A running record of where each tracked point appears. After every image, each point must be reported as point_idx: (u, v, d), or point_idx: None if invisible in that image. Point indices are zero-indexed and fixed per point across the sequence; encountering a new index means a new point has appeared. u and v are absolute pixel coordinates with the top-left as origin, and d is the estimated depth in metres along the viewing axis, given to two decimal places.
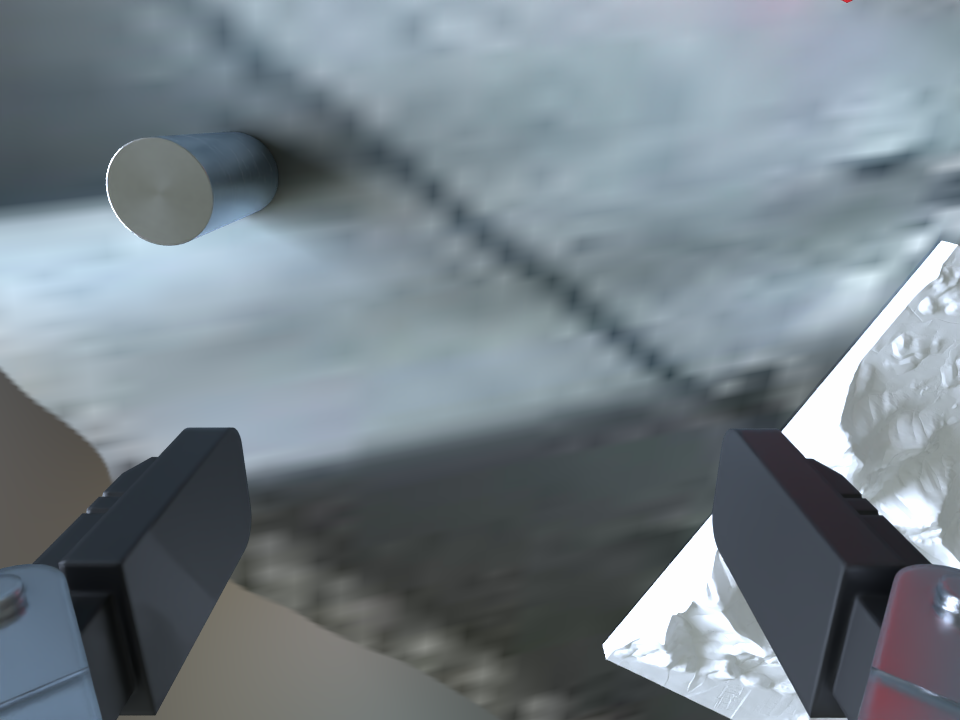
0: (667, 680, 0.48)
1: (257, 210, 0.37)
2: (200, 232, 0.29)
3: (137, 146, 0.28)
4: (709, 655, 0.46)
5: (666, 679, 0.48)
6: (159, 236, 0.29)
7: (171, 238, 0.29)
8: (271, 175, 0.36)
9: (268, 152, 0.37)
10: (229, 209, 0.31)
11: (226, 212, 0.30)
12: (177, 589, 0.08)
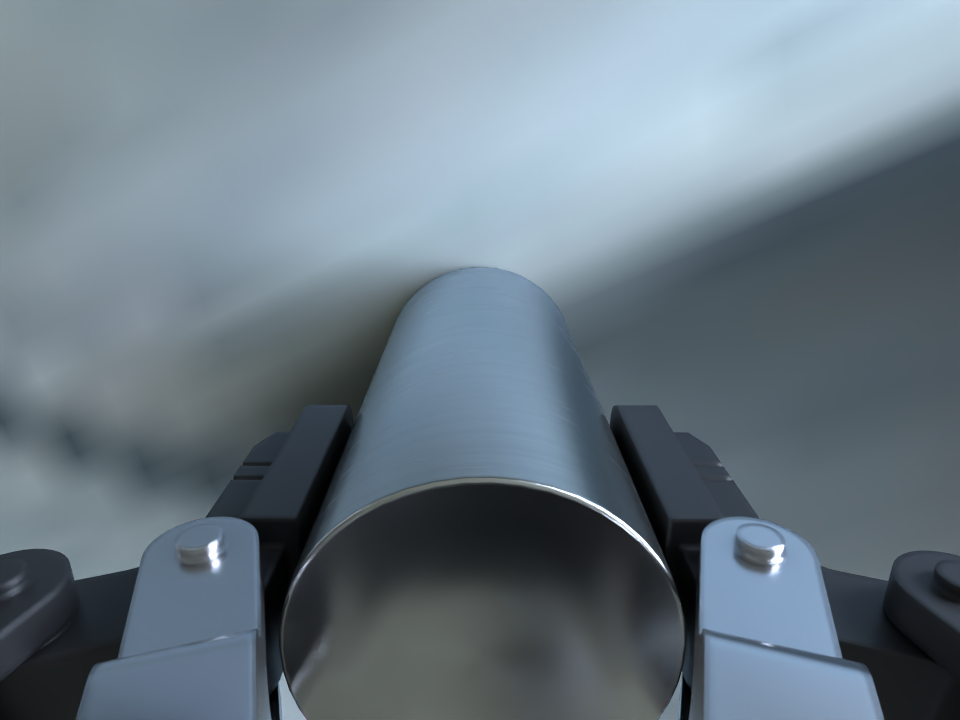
0: None
1: (400, 319, 0.15)
2: (299, 569, 0.07)
3: None
4: None
5: None
6: (455, 514, 0.07)
7: (405, 520, 0.07)
8: None
9: None
10: None
11: None
12: None
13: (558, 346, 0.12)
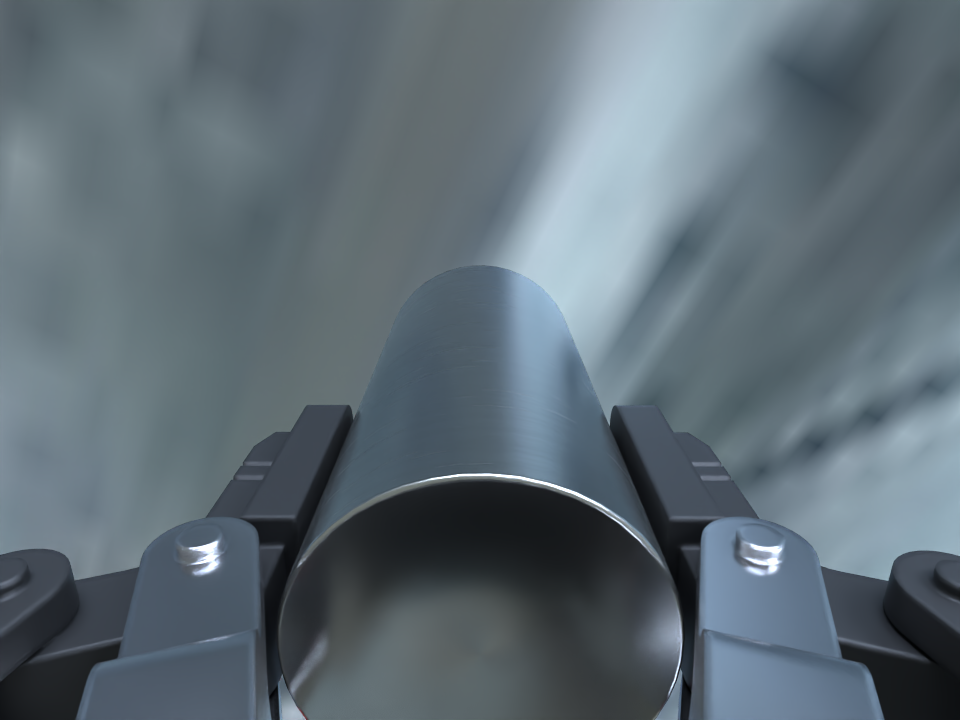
0: None
1: (399, 317, 0.15)
2: (297, 566, 0.07)
3: None
4: None
5: None
6: (452, 510, 0.07)
7: (402, 516, 0.07)
8: None
9: None
10: None
11: None
12: None
13: (557, 344, 0.12)
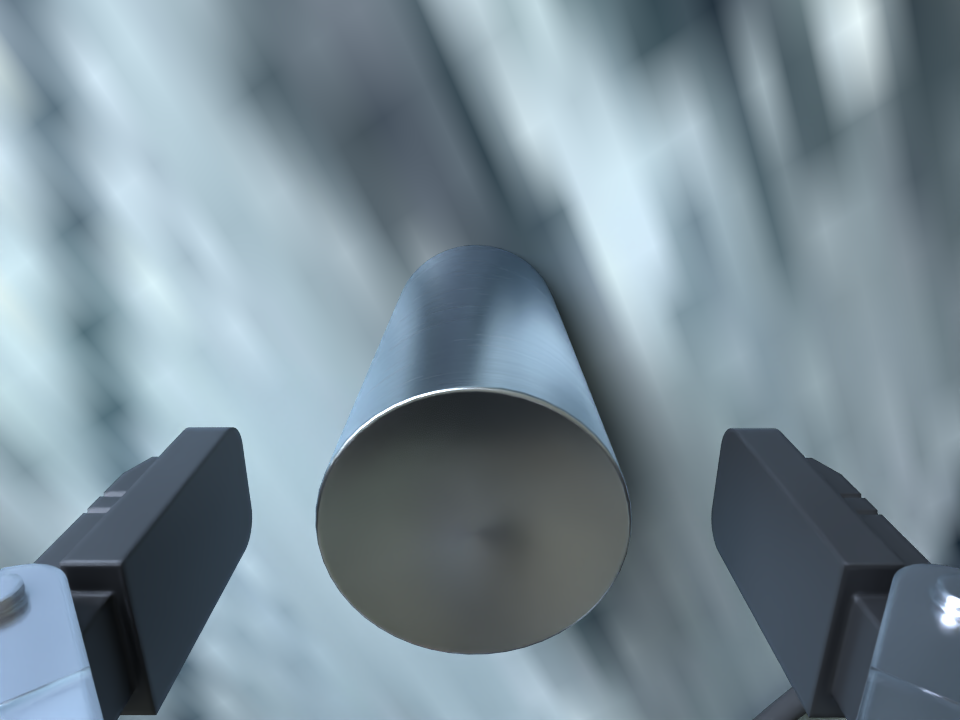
0: None
1: (404, 290, 0.17)
2: (332, 462, 0.09)
3: (552, 621, 0.10)
4: None
5: None
6: (451, 415, 0.09)
7: (413, 420, 0.09)
8: None
9: None
10: None
11: None
12: (178, 589, 0.08)
13: (540, 307, 0.14)
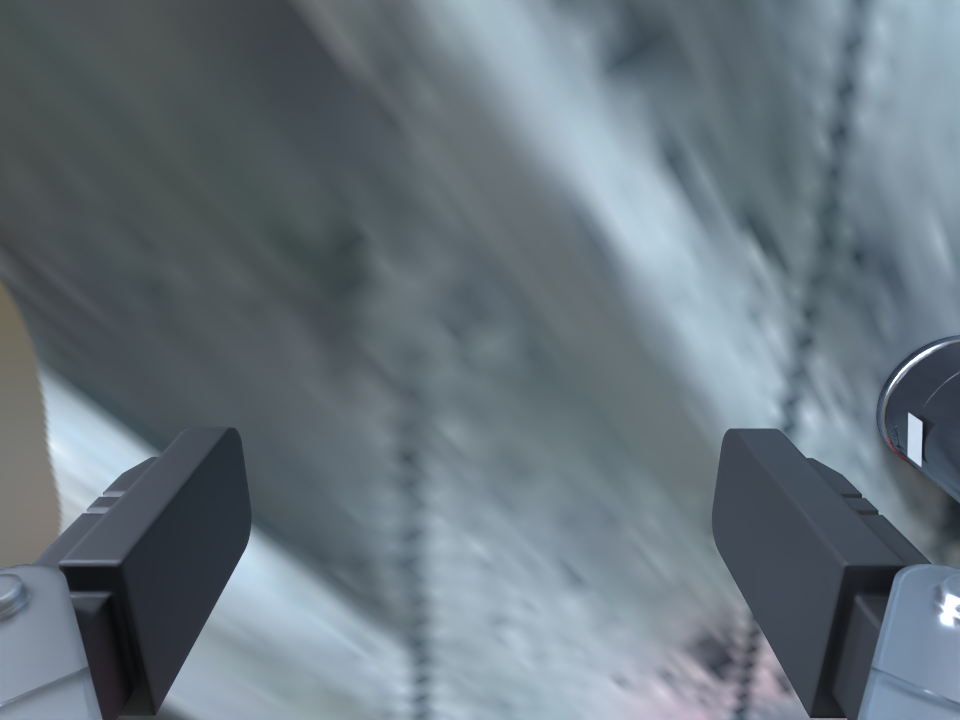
0: None
1: None
2: None
3: None
4: None
5: None
6: None
7: None
8: None
9: None
10: None
11: None
12: (177, 589, 0.08)
13: None
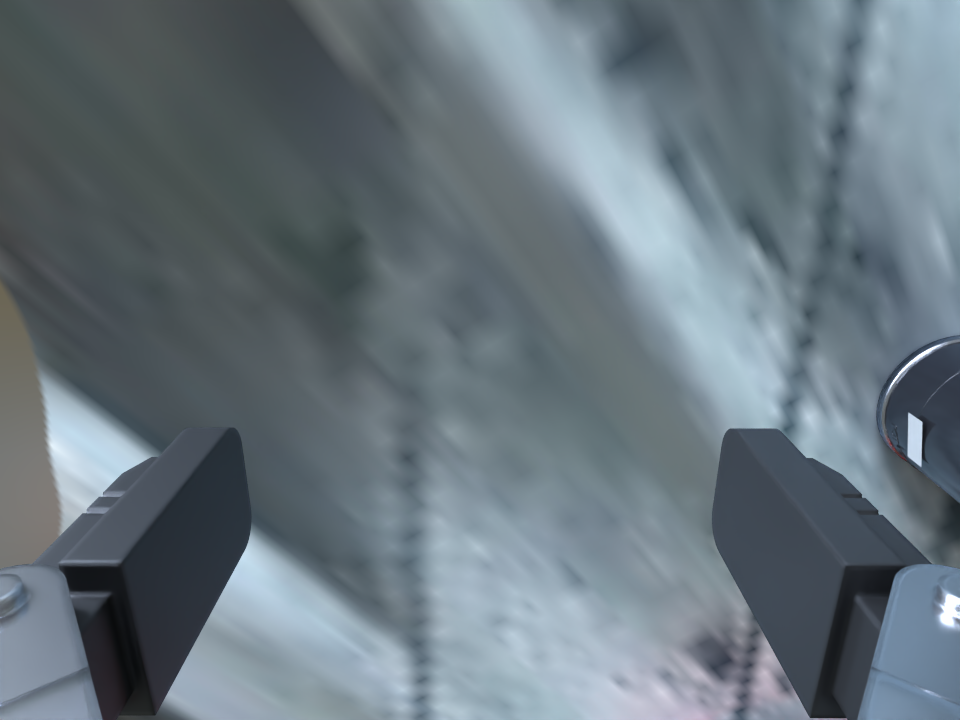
0: None
1: None
2: None
3: None
4: None
5: None
6: None
7: None
8: None
9: None
10: None
11: None
12: (177, 589, 0.08)
13: None
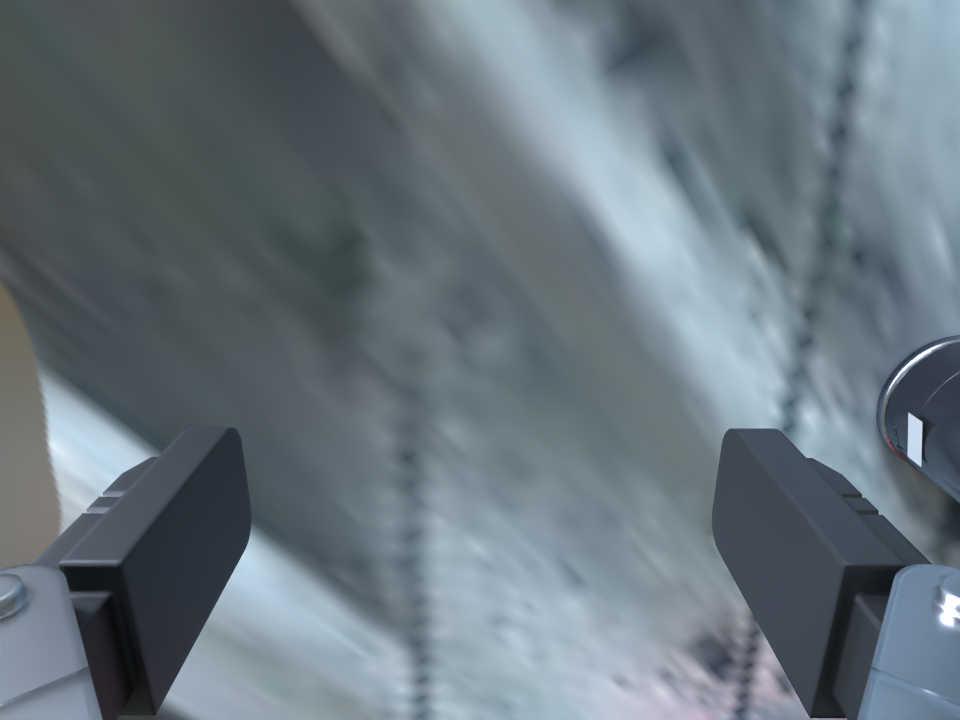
0: None
1: None
2: None
3: None
4: None
5: None
6: None
7: None
8: None
9: None
10: None
11: None
12: (177, 589, 0.08)
13: None
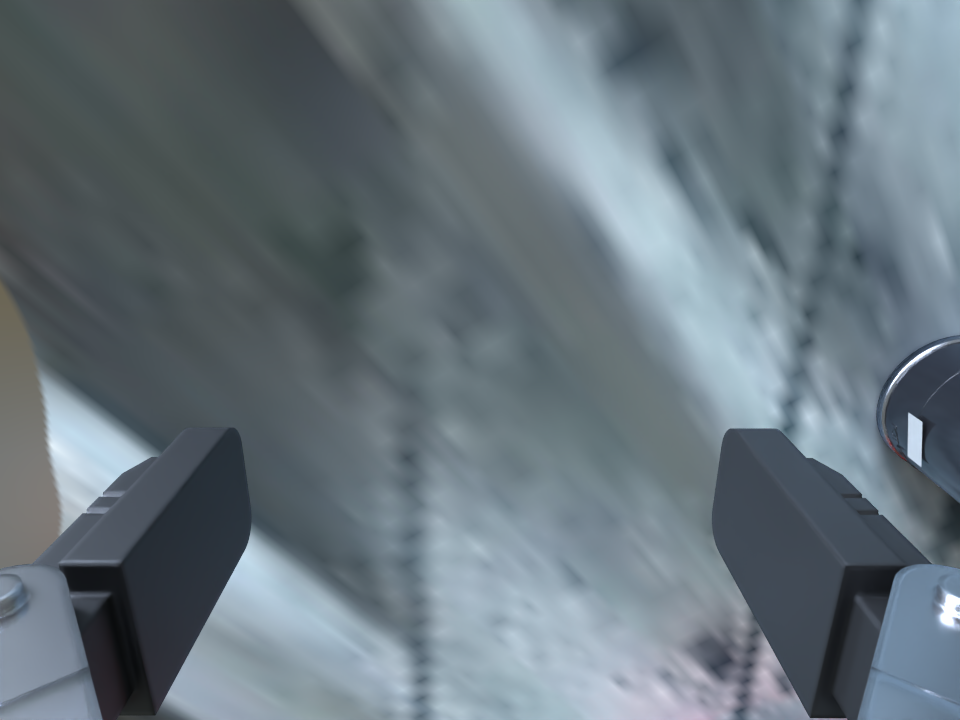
0: None
1: None
2: None
3: None
4: None
5: None
6: None
7: None
8: None
9: None
10: None
11: None
12: (177, 589, 0.08)
13: None
